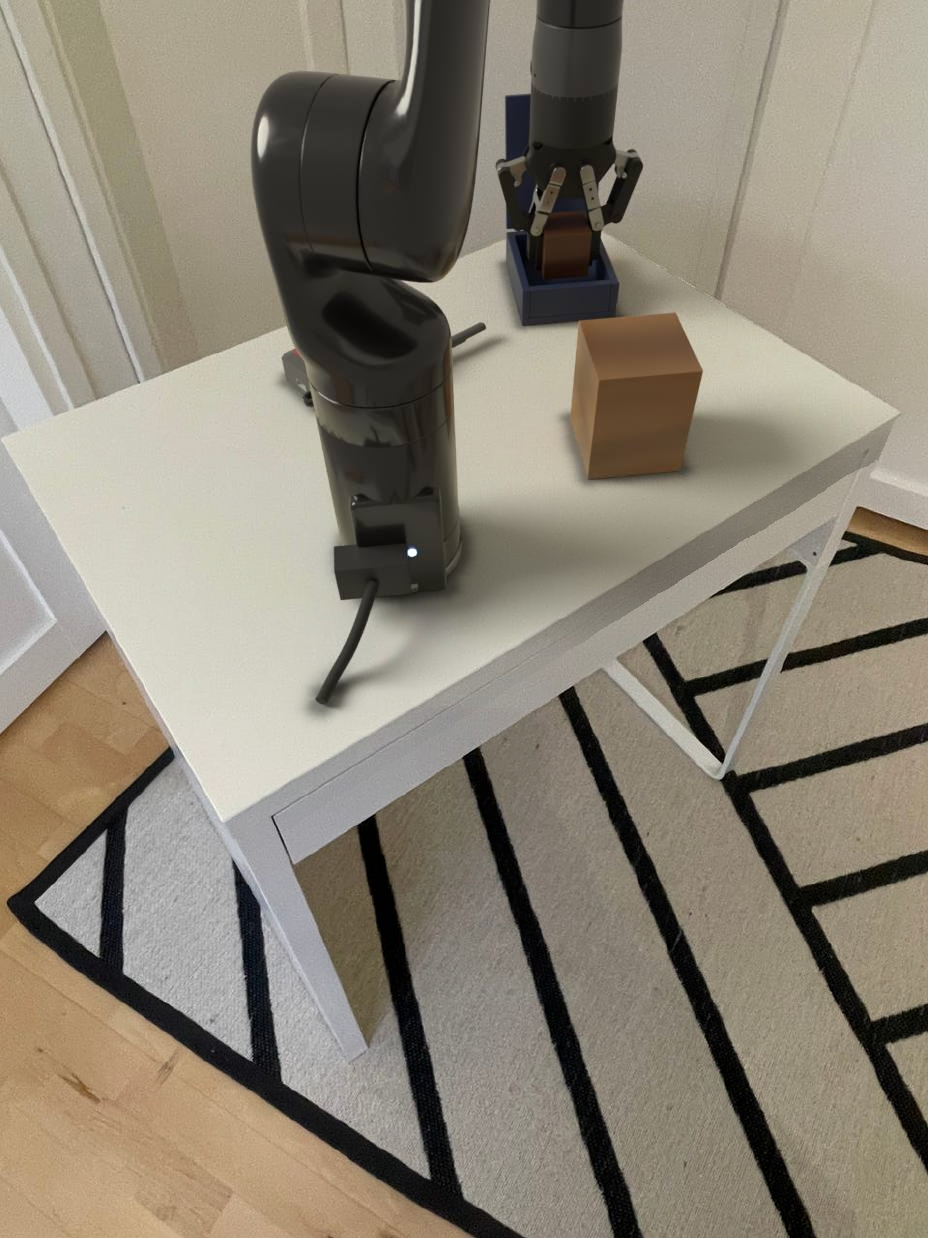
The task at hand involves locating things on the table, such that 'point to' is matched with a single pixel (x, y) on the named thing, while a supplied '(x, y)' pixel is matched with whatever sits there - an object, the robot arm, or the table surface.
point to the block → (566, 245)
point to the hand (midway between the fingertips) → (562, 263)
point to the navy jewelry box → (559, 288)
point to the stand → (633, 394)
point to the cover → (515, 147)
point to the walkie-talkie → (298, 373)
